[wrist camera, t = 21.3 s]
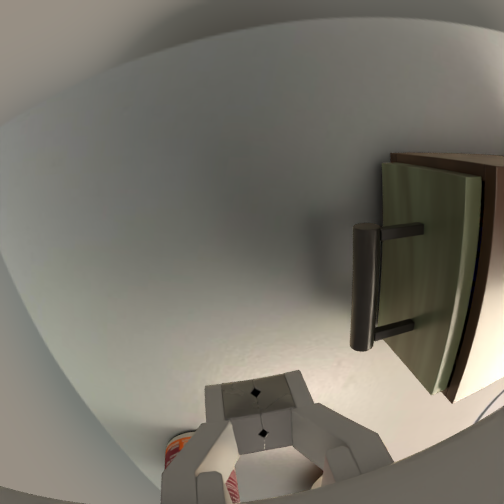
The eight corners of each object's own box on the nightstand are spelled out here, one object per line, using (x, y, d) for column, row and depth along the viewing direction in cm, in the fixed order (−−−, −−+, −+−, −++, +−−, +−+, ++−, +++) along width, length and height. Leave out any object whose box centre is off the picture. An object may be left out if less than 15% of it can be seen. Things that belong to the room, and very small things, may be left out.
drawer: (325, 344, 22) (369, 418, 15) (320, 165, 18) (390, 179, 11) (503, 291, 24) (557, 326, 17) (517, 163, 20) (584, 178, 13)
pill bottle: (183, 420, 24) (184, 538, 13) (244, 441, 26) (265, 547, 15) (155, 454, 25) (150, 556, 15) (212, 472, 27) (222, 566, 16)
